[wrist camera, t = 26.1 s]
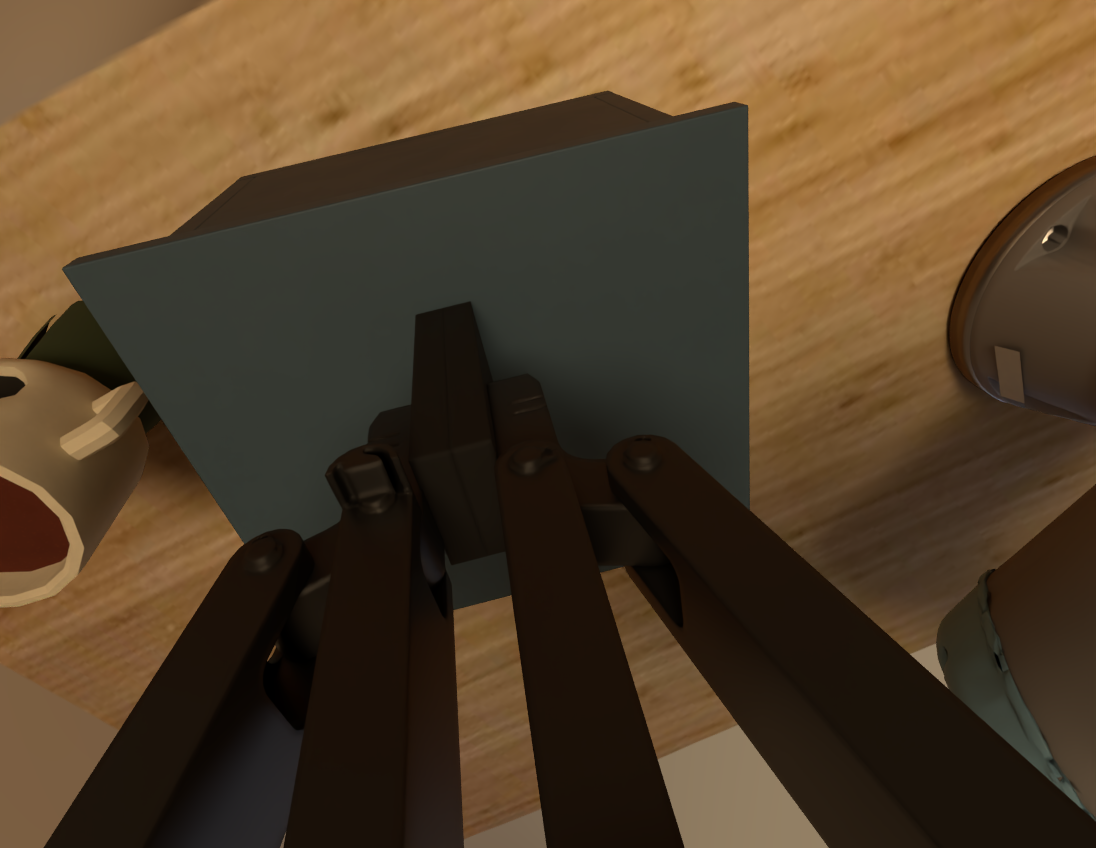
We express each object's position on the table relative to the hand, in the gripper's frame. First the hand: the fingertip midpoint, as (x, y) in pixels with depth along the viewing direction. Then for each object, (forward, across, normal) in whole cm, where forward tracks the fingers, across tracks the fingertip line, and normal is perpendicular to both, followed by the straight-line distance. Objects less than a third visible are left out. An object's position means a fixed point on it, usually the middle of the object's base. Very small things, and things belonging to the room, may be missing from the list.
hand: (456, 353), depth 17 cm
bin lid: (+1, 0, +3) cm, 3 cm away
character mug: (+15, +17, +3) cm, 23 cm away
